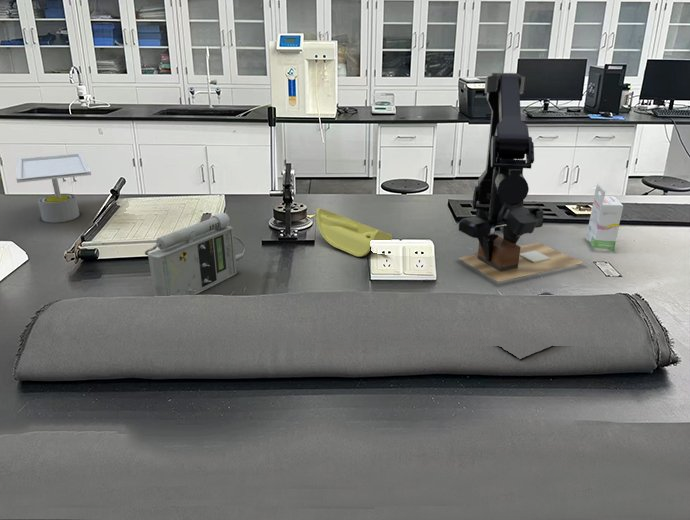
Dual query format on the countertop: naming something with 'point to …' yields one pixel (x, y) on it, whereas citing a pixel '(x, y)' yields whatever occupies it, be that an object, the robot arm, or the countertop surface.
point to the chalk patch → (534, 256)
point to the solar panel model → (54, 182)
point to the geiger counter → (194, 257)
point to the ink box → (604, 220)
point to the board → (525, 263)
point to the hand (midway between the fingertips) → (497, 259)
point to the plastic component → (348, 233)
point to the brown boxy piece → (502, 255)
